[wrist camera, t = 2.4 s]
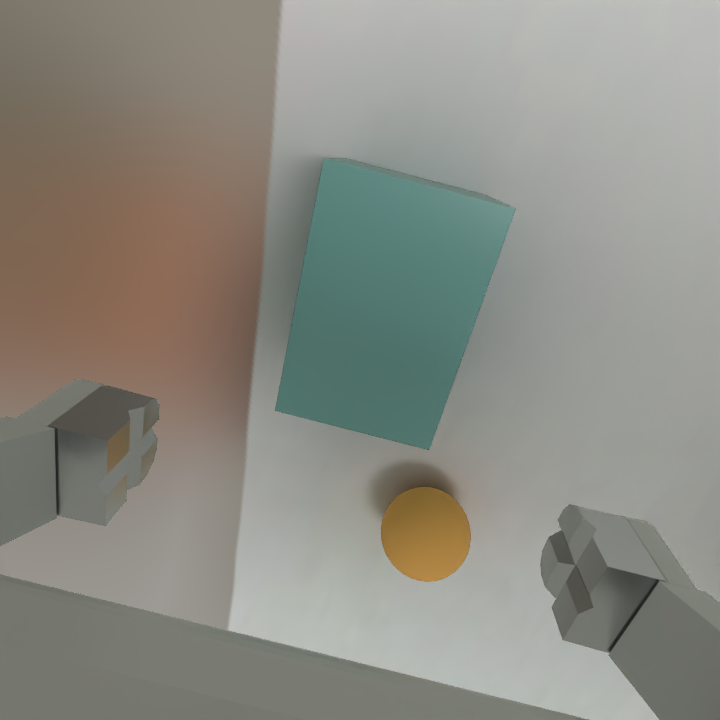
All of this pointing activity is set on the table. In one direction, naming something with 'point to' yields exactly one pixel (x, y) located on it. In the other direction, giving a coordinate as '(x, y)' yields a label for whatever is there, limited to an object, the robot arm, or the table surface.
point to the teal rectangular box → (387, 299)
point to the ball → (425, 534)
